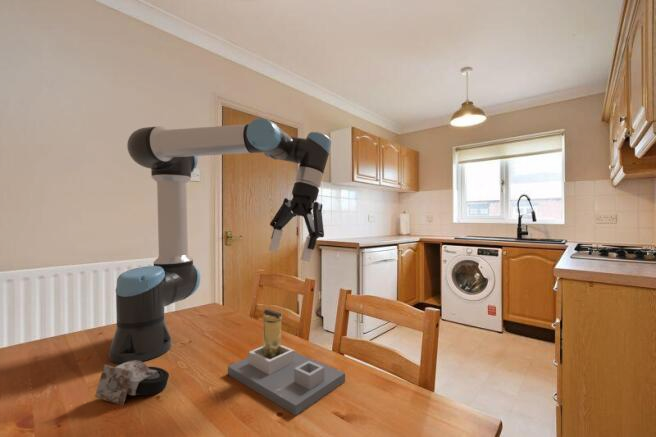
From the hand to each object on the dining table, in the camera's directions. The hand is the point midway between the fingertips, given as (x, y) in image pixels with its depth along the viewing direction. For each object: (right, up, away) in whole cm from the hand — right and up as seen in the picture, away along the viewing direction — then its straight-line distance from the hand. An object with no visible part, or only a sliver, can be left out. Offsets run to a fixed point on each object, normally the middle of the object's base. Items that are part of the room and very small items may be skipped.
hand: (288, 255), depth 87 cm
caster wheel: (-31, -28, -19) cm, 46 cm away
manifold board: (+1, -28, -14) cm, 31 cm away
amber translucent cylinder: (-3, -26, -11) cm, 28 cm away
